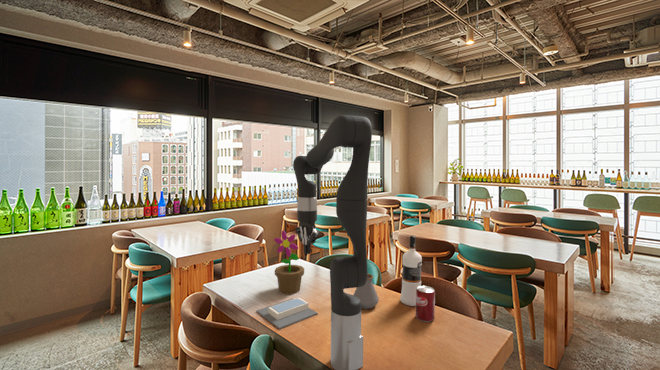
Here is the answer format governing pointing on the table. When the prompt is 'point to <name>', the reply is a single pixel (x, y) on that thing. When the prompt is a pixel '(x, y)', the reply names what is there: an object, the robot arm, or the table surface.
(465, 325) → the table surface
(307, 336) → the table surface
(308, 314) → the rubber mat
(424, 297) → the soda can
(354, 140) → the robot arm
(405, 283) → the vodka
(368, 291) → the coffee pot
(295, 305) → the slate tablet
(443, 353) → the table surface
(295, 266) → the flowerpot
